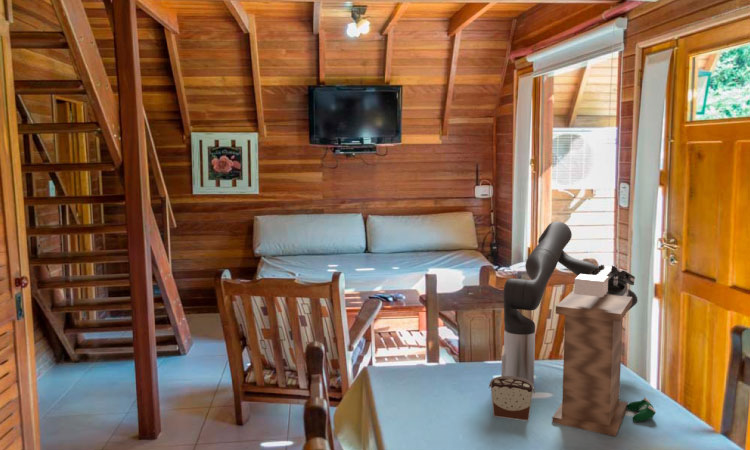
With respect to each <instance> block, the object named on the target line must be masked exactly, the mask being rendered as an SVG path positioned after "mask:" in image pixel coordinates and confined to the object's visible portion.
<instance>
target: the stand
mask: <svg viewBox="0 0 750 450" xmlns="http://www.w3.org/2000/svg"><path fill="white" fill-rule="evenodd" d="M631 305H632V297H628V296H618V295H609V294H605V295H604V296H603V297H597V296H588V295H579V294H574V290H572V291H571V292H570V293H569V294H568V295H566V296H565V297H564V298H563V299H562V300H561V301H559V303H557V304H556V306H555V314H557V315H564V336H563V337H564V338H563V339H564V340H563V342H564V343H563V365H562V366H563V370H562V371H563V372H562V373H563V374H562V398H561V399H562V401H561V404H560V405H559V406H558V408H557V410H556V411H555V412H554V414H553V415H552V417H551V418H552V419H551V421H552V423H553V424H557V425H562V426H566V427H571V428H575V429H580V430H584V431H589V432H593V433H598V434H603V435H608V436H612V437H617V434H618V433H619V429H620V426H621V424H622V422H623V420H624V417H625V414H626V413H627V410H628V409H627V405H628V404H629V402H628V401H625V400H620V389H621V384H620V383H621V369H622V367H621V364H622V363H621V362H622V347H623V346H622V345H623V344H622V343H623V342H622V341H623V337H622V336H623V319H624V318H625V315H626V314H627V313H628V312H627V311H628V310H629V308H630V307H631ZM629 311H630V310H629Z"/></svg>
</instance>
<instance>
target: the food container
mask: <svg viewBox="0 0 750 450" xmlns="http://www.w3.org/2000/svg"><path fill="white" fill-rule="evenodd" d="M489 388H490V391H491V405H492V412H493V413H492V415H493V417H496V418H503V419H509V420H517V421H524V422H525V421H526V422H529V421H530V413H531V405H532V400H533V393H534V394H536V391H535V386H533V384H532V382H530V381H529V380H527V379H524V378H521V377H516V376H497V377H494V378H492V379H491V380H490V381H489V385H488V389H489Z"/></svg>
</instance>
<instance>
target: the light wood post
mask: <svg viewBox="0 0 750 450" xmlns="http://www.w3.org/2000/svg"><path fill="white" fill-rule="evenodd" d="M604 267H605V268H604V269H603V270H601V271H600V272H599V273H598V274H597V275H587V274H580V275H579V276H577V275H576V277H575V278H574V287H573V288H574V290H573V291H574V294H579V295H588V296H597V297H603V296H604V295H605V294H606V293H607V292H608V280H609V279H610V278H611V277H612V276H613V275H612V273H611V268H612V266H604Z"/></svg>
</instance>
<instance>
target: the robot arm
mask: <svg viewBox="0 0 750 450" xmlns="http://www.w3.org/2000/svg"><path fill="white" fill-rule="evenodd" d="M572 234H573V233H572V230H571V228H570V226H568V224H566V223H565V222H562V221H558V220H557V221H552V222H550V223H549V224H548V225H547V227H546V228H545V229H544V231H543V232H542V233H541V234H540V236H539V238H538V240H537V243H538V244H537V245H536V246H535V247H534V248H533V249H532V251H531V252H530V254H529V256H528V258H527V259H526V262H525V266H524V268H525V272H526V274H527V275H528V277H529V279H523V278H507V280H506V281H505V283H504V286H503V296H502V297H503V322H504V335H503V336H504V337H503V338H504V339H503V340H504V342H503V343H504V344H503V349H504V350H503V353H502V354H501V371H500V373H501V374H500V375H501V376H516V377H521V378H524V379H527V380H529V381H530V382H532V384H533V386H534V385H535V384H534V383H535V355H536V354H535V352H536V351H535V350H536V323H535V322H534V321H533V320H532V319H530V318H528V317H526V316H525V315H523V314H522V313H521V312H520V311H519V310H522V311H535V310H537V309H538V307H539V306H540V304H541V301H542V299H543V295H544V292H545V290H546V287H547V284H548V283H549V280H550V278H551V277H552V275H553V273H554V272H555V269H556V267H557V265H558V263H559V264H561V265H562V266H563V267H565V268H566V269H568V270H569V271H570V272H572V273H573V274H574V275H576V277H577V276H579V275H580V274H587V275H597V274H598V273H599V272H600V271H601V270H603V269H604V268H605V267H606V266H605V265H604V264H600V265H598V266H597V264H595V263H593V262H590V261H585V260H581V259H578V258H574V257H572V256H570V255H569V254H567V253H566V252H565V251H564V249H565V247H566V246H568V243H569V242H570V241H571V239H572V236H573V235H572ZM611 267H612V268H611V273H612V275H613V276H612V277H611V278H610V279H609V280H608V292H607V293H606V294H609V295H618V296H628V297H632V305H631V307H630V308H629V310H628V311H630V310H631V309H632V308H633V307H634V306H636V305H637V303H638V296H637V294H636V293H635V292H634V291H633V290H631V289H630V288H629V286H628V285H630V286H634V285H635V279H636V277H635V276H634V275H633V274H631V273H629V272H628V271H626V270H621V271H620V270H619V268H618V267H616V265H611ZM628 311H627V313H628ZM534 387H535V386H534Z"/></svg>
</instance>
